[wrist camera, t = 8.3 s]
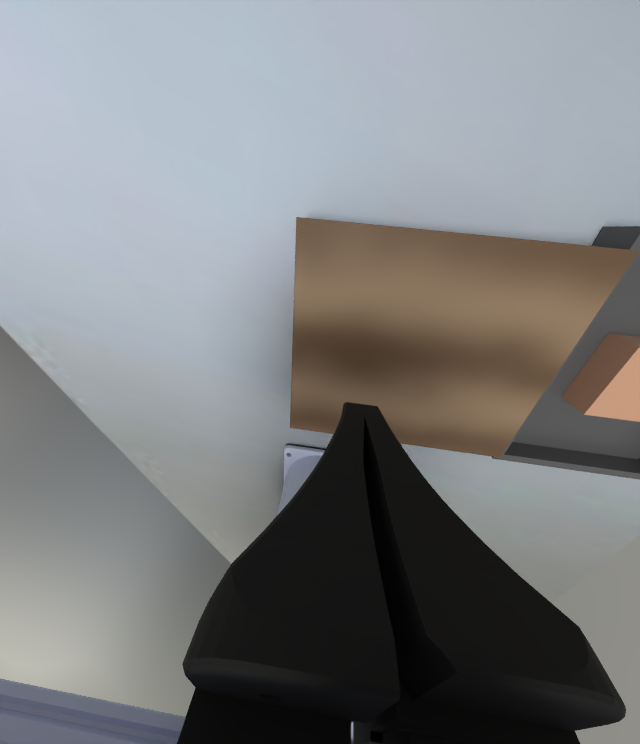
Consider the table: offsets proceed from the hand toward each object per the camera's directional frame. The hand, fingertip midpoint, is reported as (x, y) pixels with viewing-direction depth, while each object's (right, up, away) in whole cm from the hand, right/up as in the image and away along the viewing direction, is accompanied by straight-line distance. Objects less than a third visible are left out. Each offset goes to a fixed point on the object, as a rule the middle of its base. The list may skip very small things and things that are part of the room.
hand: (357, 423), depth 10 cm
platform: (+5, +4, +8) cm, 10 cm away
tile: (+19, +1, +5) cm, 19 cm away
